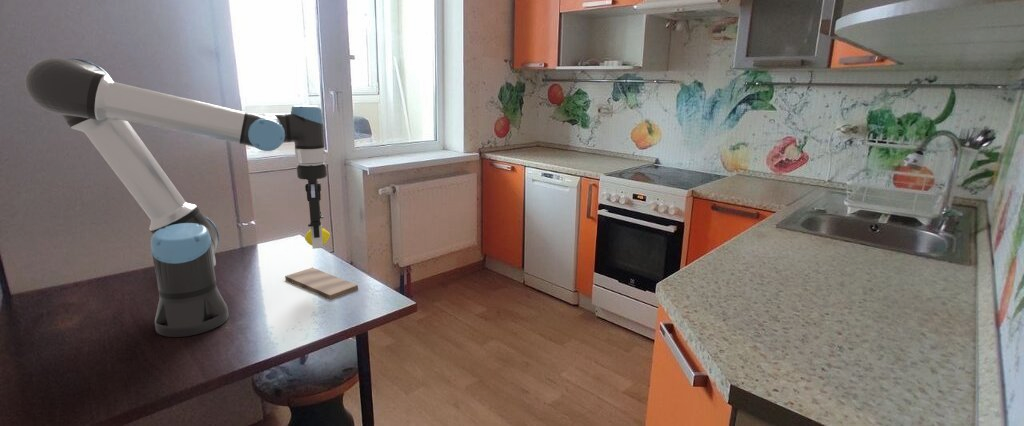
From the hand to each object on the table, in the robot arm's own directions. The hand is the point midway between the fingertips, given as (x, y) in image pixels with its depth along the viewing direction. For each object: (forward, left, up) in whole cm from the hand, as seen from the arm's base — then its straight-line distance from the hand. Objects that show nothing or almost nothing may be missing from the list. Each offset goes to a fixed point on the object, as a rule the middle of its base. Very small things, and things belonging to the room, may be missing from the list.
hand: (317, 244), depth 145 cm
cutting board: (0, 0, -12) cm, 12 cm away
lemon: (0, 0, 0) cm, 1 cm away
